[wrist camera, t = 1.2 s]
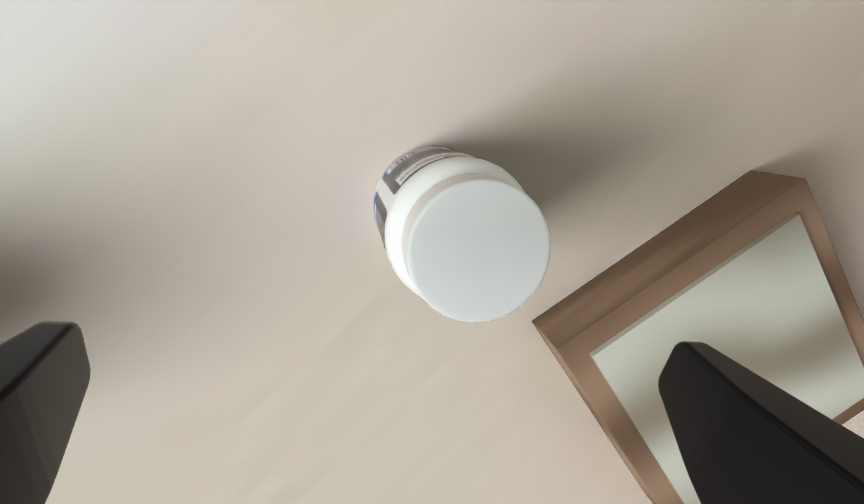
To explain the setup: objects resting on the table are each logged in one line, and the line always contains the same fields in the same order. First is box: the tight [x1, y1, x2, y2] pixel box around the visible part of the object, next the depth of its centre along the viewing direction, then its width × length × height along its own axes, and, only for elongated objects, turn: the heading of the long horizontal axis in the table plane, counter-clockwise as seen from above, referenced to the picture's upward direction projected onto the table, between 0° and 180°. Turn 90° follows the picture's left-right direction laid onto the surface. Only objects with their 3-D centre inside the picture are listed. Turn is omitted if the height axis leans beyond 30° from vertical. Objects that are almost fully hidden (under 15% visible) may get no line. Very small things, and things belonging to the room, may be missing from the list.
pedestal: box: [532, 171, 864, 504], centre depth 25 cm, size 12×12×3 cm
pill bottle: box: [374, 146, 550, 322], centre depth 18 cm, size 5×5×8 cm
